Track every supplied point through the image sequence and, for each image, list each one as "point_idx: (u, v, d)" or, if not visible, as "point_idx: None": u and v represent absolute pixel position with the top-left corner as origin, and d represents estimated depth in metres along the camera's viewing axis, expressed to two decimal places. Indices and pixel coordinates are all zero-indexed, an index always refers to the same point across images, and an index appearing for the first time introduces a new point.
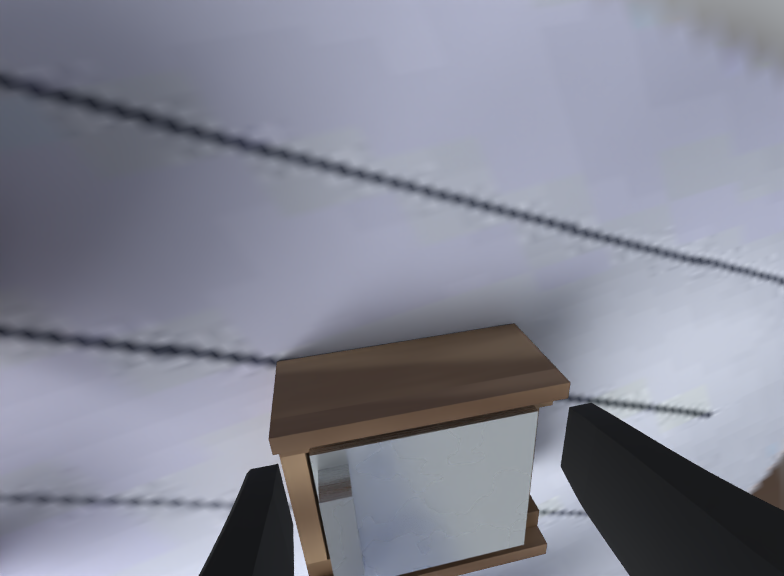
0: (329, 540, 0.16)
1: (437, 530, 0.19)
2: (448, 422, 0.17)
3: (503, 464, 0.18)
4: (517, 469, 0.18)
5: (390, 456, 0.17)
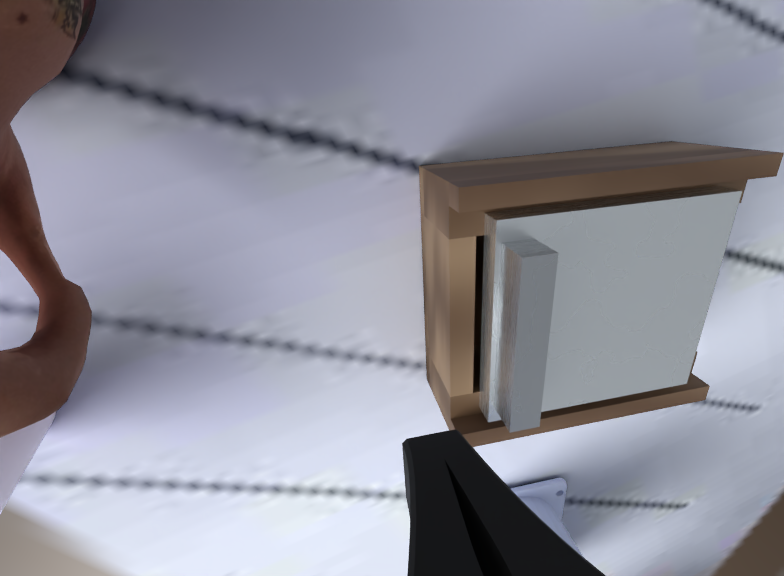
0: (520, 317, 0.13)
1: (605, 350, 0.17)
2: (642, 199, 0.15)
3: (691, 264, 0.16)
4: (703, 274, 0.16)
5: (579, 235, 0.14)
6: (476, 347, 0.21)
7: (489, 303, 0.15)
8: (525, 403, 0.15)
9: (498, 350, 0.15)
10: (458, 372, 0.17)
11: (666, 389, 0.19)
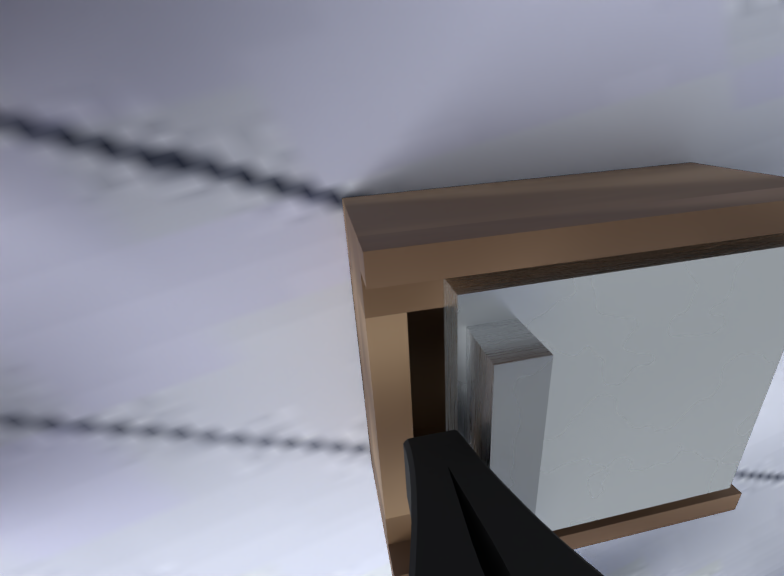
0: (495, 447, 0.09)
1: (620, 456, 0.12)
2: (679, 255, 0.10)
3: (746, 342, 0.11)
4: (762, 354, 0.11)
5: (585, 310, 0.10)
6: (433, 429, 0.16)
7: (453, 404, 0.10)
8: None
9: None
10: (394, 489, 0.12)
11: None
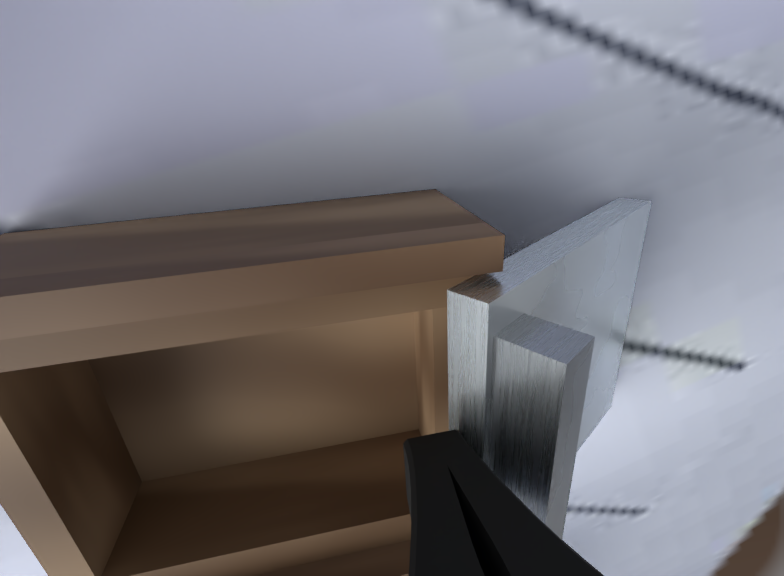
0: (557, 449, 0.08)
1: None
2: (594, 227, 0.11)
3: (622, 288, 0.14)
4: (627, 295, 0.14)
5: (559, 290, 0.10)
6: (184, 476, 0.15)
7: (471, 425, 0.09)
8: None
9: None
10: (55, 560, 0.11)
11: None
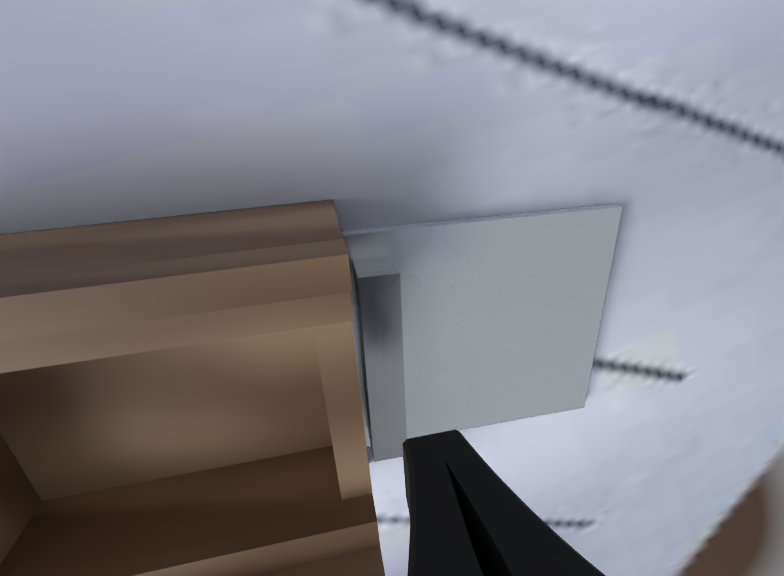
0: (367, 341, 0.12)
1: (487, 373, 0.16)
2: (513, 214, 0.14)
3: (573, 283, 0.15)
4: (589, 294, 0.15)
5: (441, 251, 0.13)
6: (86, 495, 0.14)
7: None
8: (387, 431, 0.14)
9: (363, 373, 0.14)
10: None
11: None
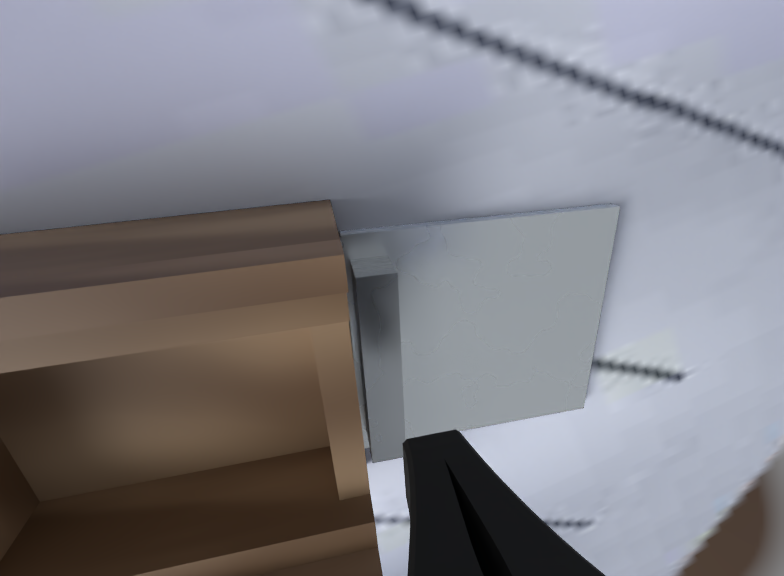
0: (364, 341, 0.12)
1: (486, 373, 0.16)
2: (510, 214, 0.14)
3: (571, 283, 0.15)
4: (587, 294, 0.15)
5: (439, 251, 0.13)
6: (84, 496, 0.14)
7: (349, 323, 0.14)
8: (385, 432, 0.14)
9: (361, 374, 0.14)
10: None
11: None
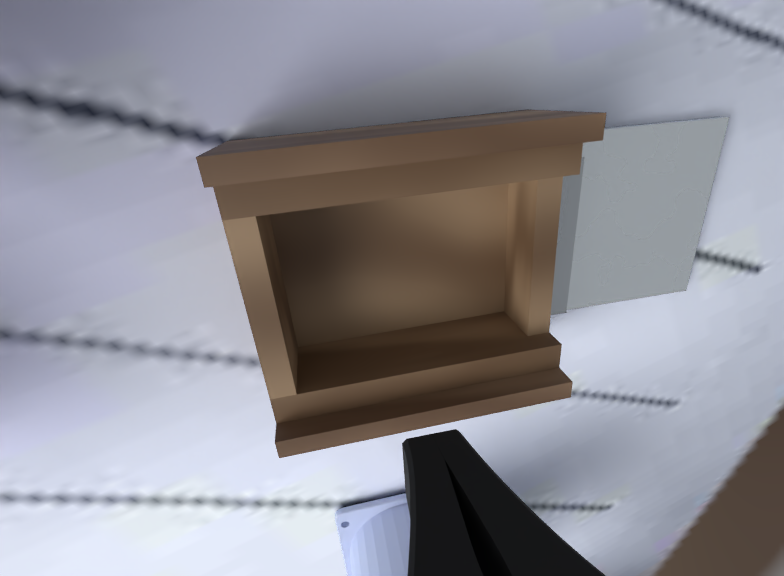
0: None
1: (618, 255, 0.20)
2: None
3: (688, 180, 0.19)
4: (699, 189, 0.20)
5: (598, 151, 0.18)
6: (329, 343, 0.19)
7: None
8: (555, 290, 0.19)
9: None
10: (273, 371, 0.15)
11: (524, 386, 0.17)
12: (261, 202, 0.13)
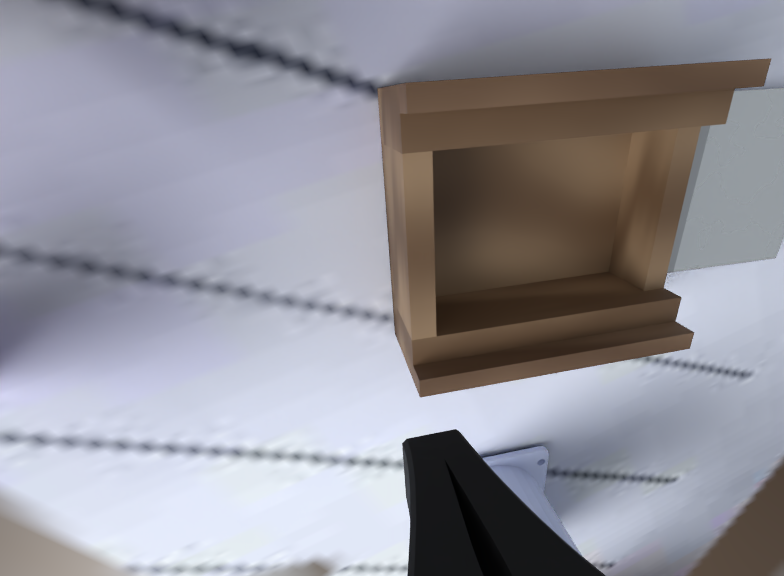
0: None
1: (719, 220, 0.21)
2: None
3: None
4: None
5: None
6: (446, 296, 0.19)
7: None
8: None
9: None
10: (419, 311, 0.16)
11: (647, 336, 0.17)
12: (440, 137, 0.13)
